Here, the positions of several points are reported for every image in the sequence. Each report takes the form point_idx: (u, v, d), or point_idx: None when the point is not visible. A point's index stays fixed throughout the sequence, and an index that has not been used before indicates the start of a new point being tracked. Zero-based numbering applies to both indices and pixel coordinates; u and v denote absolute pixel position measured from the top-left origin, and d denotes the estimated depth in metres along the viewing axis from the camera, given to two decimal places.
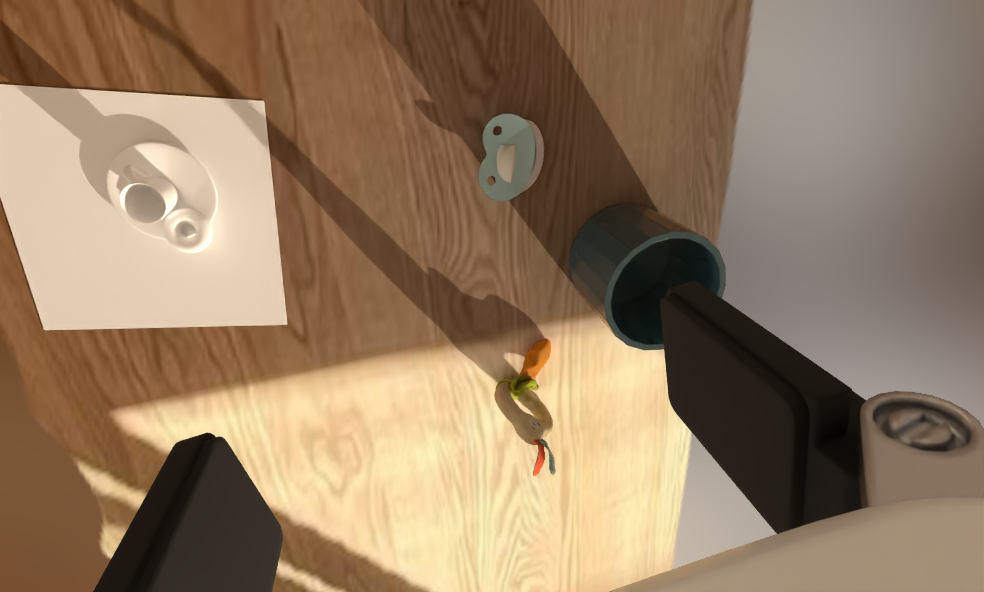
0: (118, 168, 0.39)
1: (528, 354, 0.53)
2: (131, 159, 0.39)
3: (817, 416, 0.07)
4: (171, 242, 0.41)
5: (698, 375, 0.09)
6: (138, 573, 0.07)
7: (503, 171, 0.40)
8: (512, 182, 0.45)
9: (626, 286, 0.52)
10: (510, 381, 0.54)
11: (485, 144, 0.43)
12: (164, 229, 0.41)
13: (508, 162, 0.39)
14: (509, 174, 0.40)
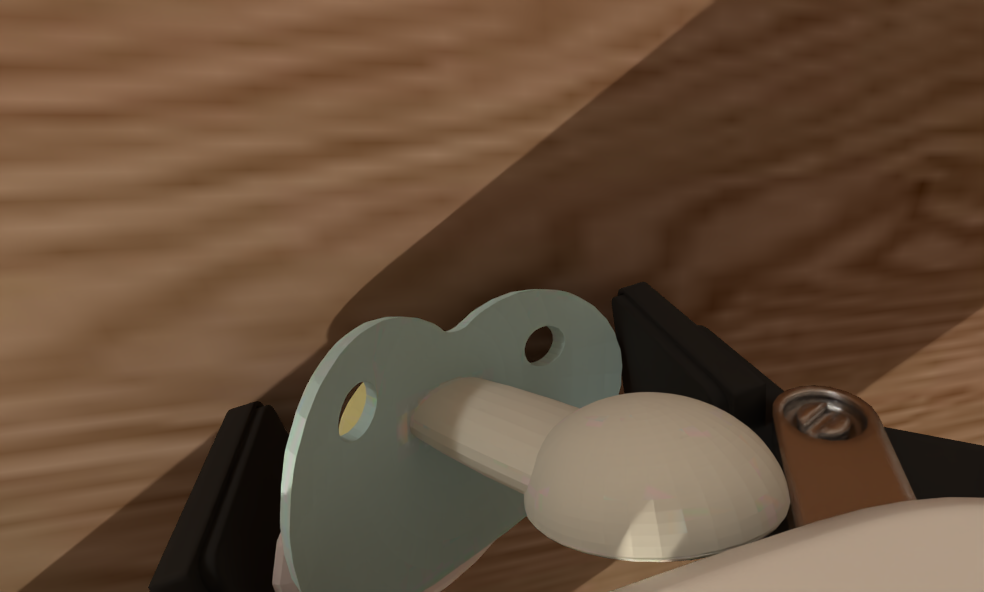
0: None
1: None
2: None
3: (735, 408, 0.07)
4: None
5: (644, 371, 0.10)
6: (211, 519, 0.07)
7: (730, 467, 0.05)
8: (368, 531, 0.07)
9: None
10: None
11: (494, 313, 0.09)
12: None
13: (782, 474, 0.06)
14: (747, 526, 0.05)
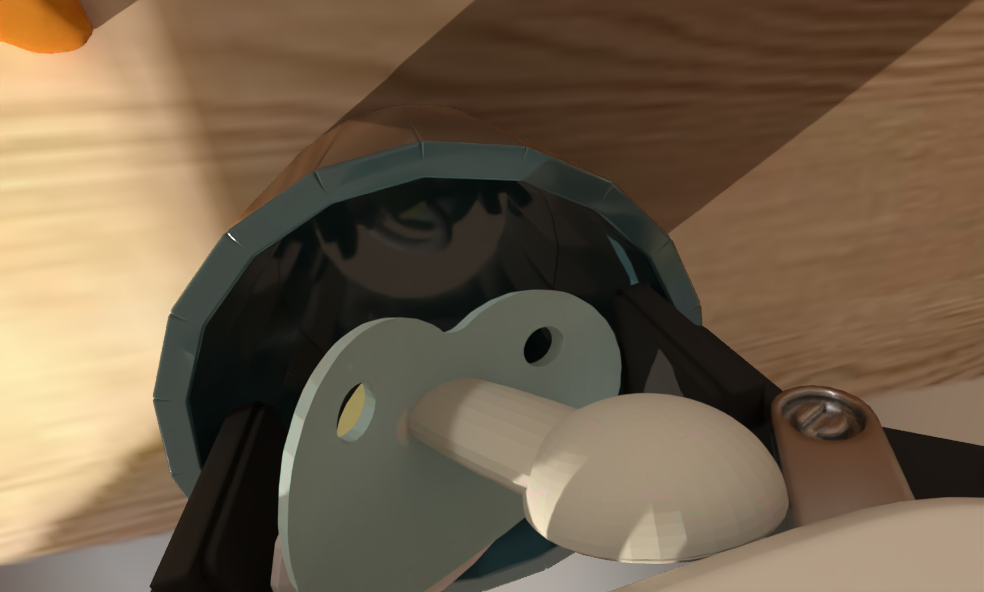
0: None
1: None
2: None
3: (734, 408, 0.07)
4: None
5: (643, 371, 0.10)
6: (212, 518, 0.07)
7: (729, 468, 0.05)
8: (367, 533, 0.07)
9: (339, 294, 0.18)
10: None
11: (493, 313, 0.09)
12: None
13: (780, 476, 0.06)
14: (746, 527, 0.05)
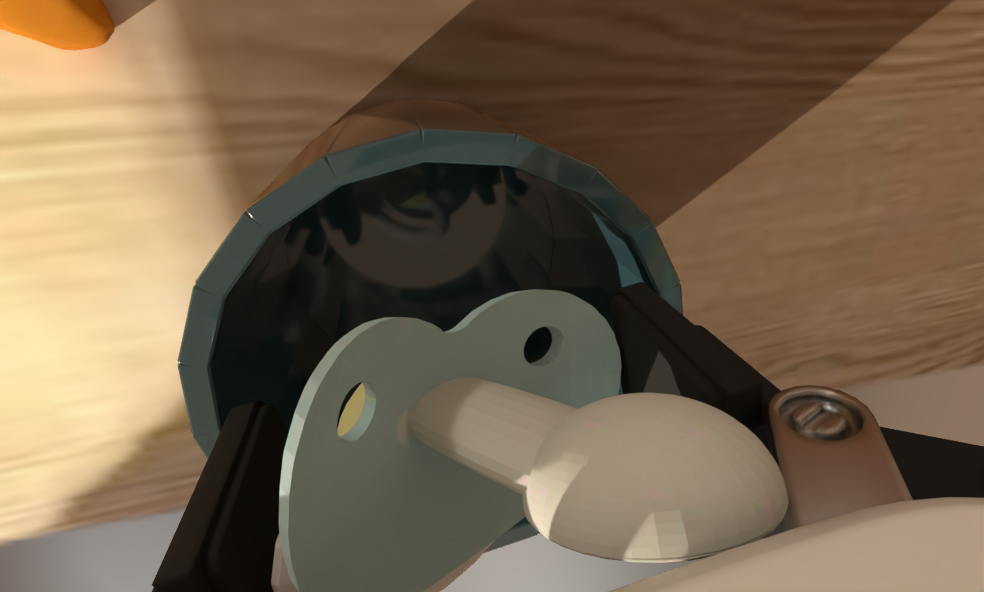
0: None
1: None
2: None
3: (732, 408, 0.07)
4: None
5: (642, 371, 0.10)
6: (214, 517, 0.07)
7: (728, 467, 0.05)
8: (367, 532, 0.07)
9: (345, 280, 0.19)
10: None
11: (493, 313, 0.09)
12: None
13: (780, 475, 0.06)
14: (745, 526, 0.05)
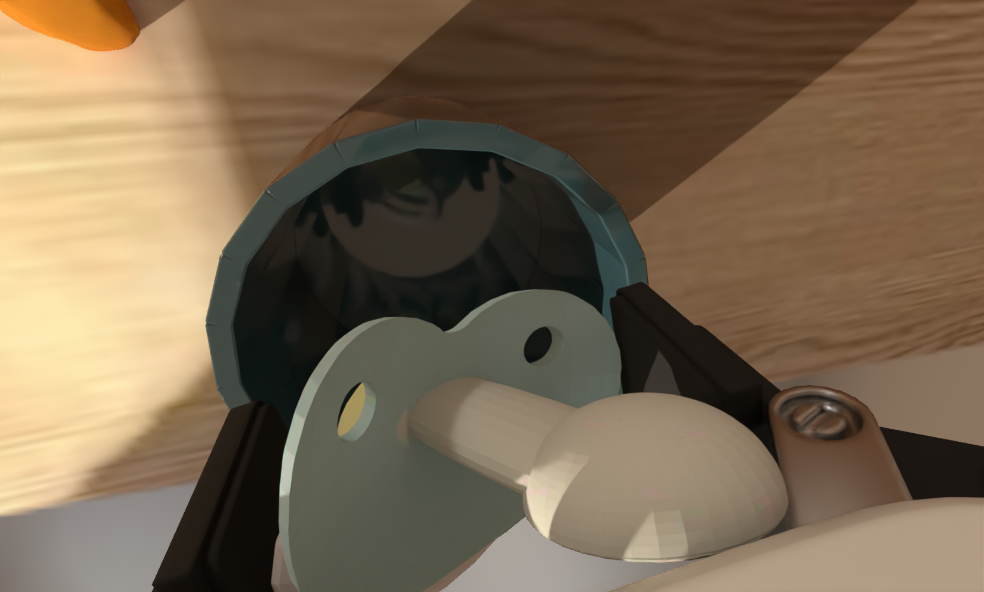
0: None
1: None
2: None
3: (732, 408, 0.07)
4: None
5: (642, 371, 0.10)
6: (214, 517, 0.07)
7: (728, 467, 0.05)
8: (367, 532, 0.07)
9: (348, 264, 0.20)
10: None
11: (493, 313, 0.09)
12: None
13: (779, 475, 0.06)
14: (745, 526, 0.05)
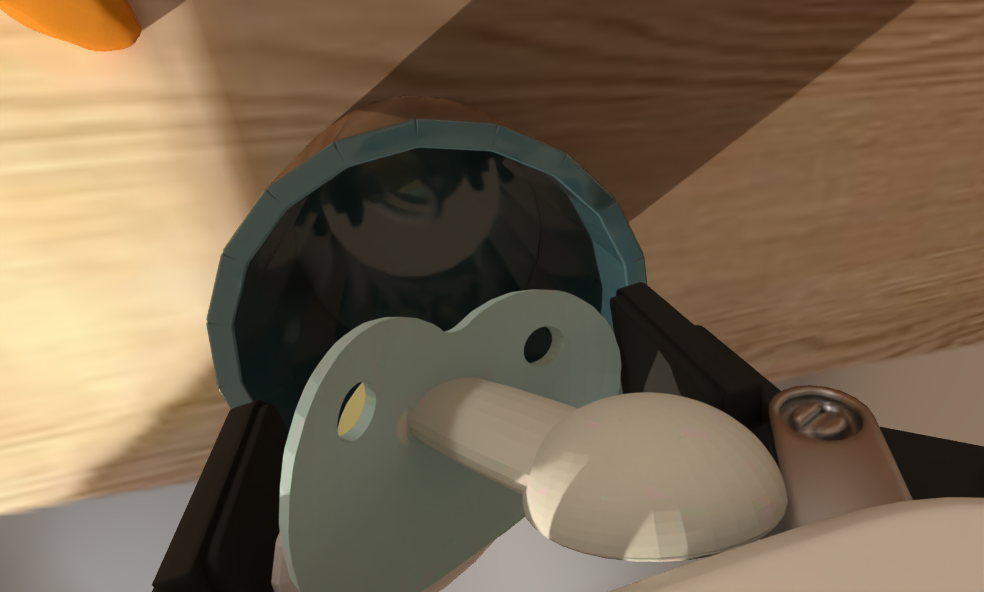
0: None
1: None
2: None
3: (732, 408, 0.07)
4: None
5: (642, 371, 0.10)
6: (214, 517, 0.07)
7: (728, 468, 0.05)
8: (367, 531, 0.07)
9: (348, 263, 0.20)
10: None
11: (493, 313, 0.09)
12: None
13: (779, 475, 0.06)
14: (745, 526, 0.05)
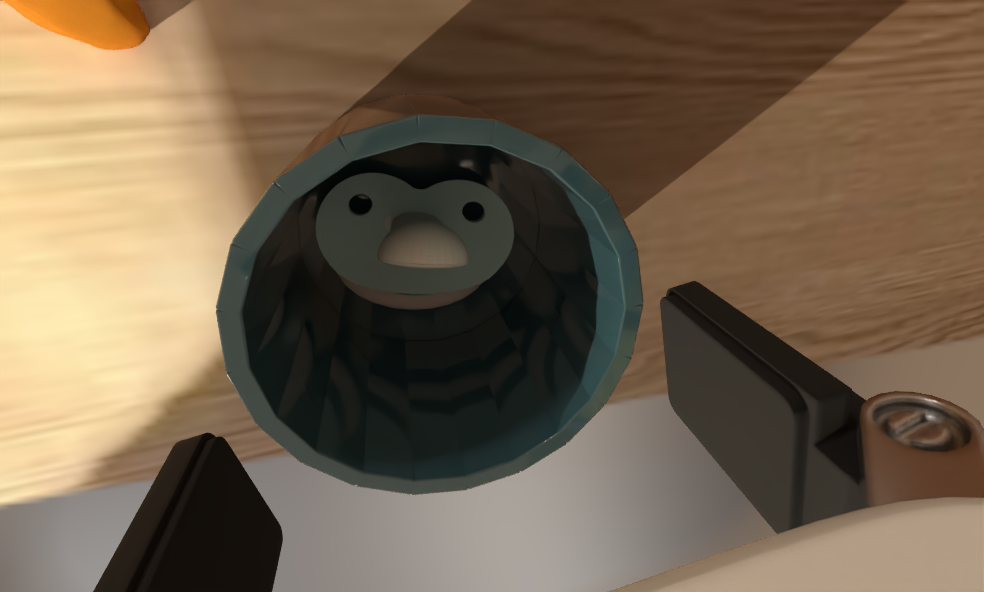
0: None
1: None
2: None
3: (817, 416, 0.07)
4: None
5: (698, 375, 0.09)
6: (138, 573, 0.07)
7: (412, 240, 0.15)
8: (361, 252, 0.19)
9: None
10: None
11: (443, 186, 0.19)
12: None
13: (437, 254, 0.15)
14: (406, 258, 0.15)
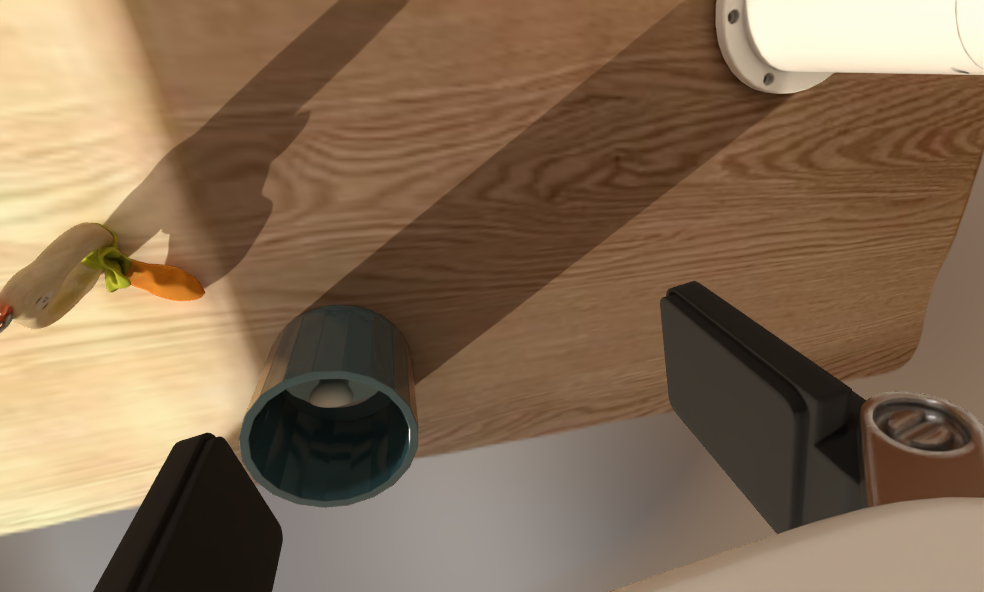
0: None
1: (175, 269, 0.34)
2: None
3: (817, 416, 0.07)
4: None
5: (698, 375, 0.09)
6: (138, 573, 0.07)
7: (322, 396, 0.35)
8: (306, 385, 0.39)
9: None
10: (115, 246, 0.33)
11: None
12: None
13: (333, 402, 0.35)
14: (319, 404, 0.34)
